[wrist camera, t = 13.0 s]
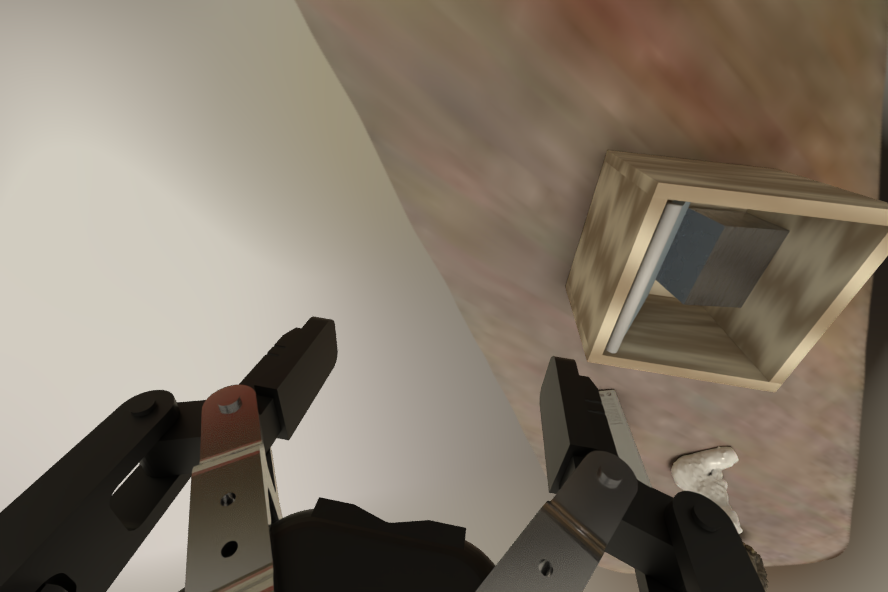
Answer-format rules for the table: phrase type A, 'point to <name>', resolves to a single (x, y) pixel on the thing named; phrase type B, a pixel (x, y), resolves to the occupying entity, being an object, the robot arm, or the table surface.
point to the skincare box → (623, 435)
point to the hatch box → (772, 299)
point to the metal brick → (719, 257)
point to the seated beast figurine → (707, 476)
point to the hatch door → (648, 269)
